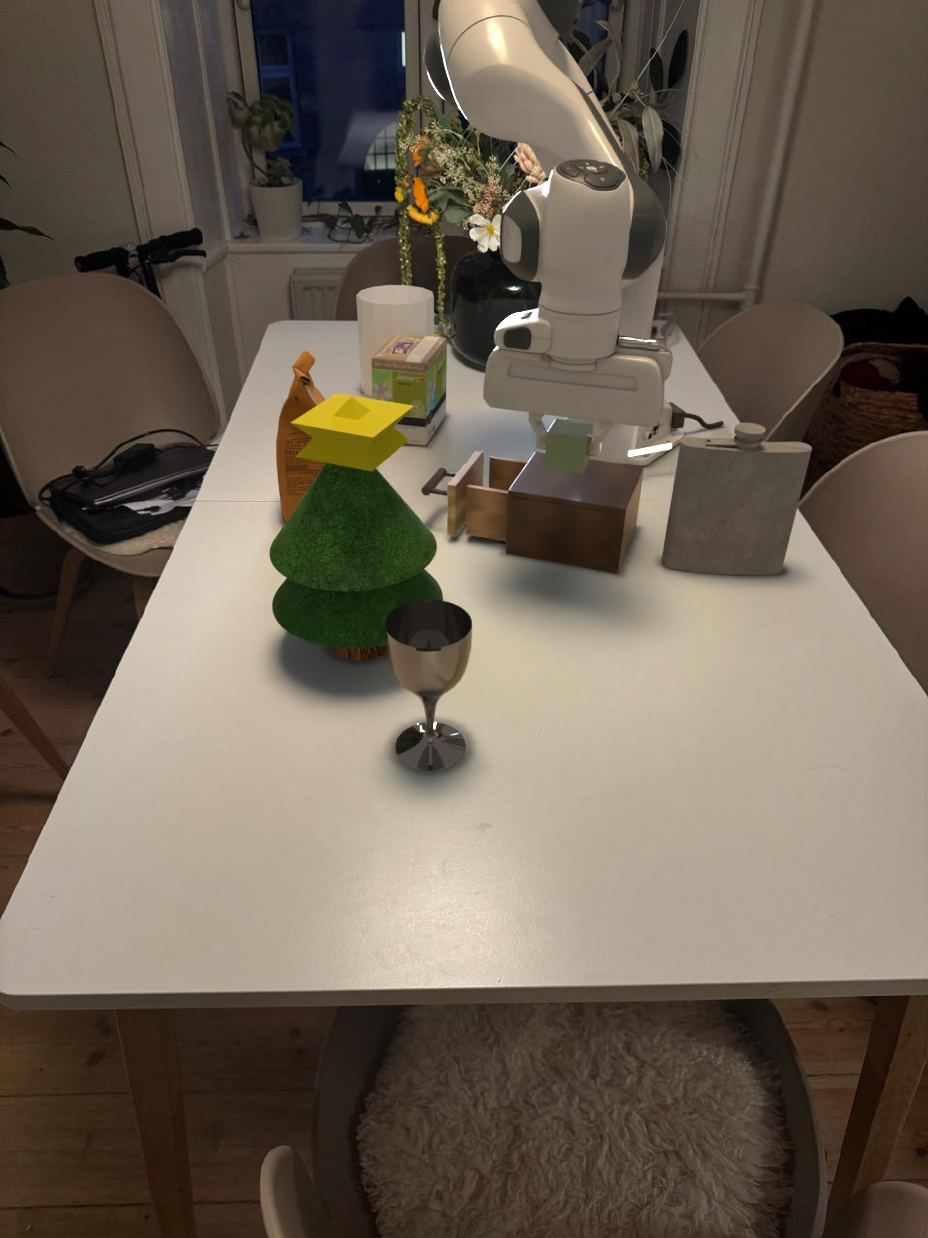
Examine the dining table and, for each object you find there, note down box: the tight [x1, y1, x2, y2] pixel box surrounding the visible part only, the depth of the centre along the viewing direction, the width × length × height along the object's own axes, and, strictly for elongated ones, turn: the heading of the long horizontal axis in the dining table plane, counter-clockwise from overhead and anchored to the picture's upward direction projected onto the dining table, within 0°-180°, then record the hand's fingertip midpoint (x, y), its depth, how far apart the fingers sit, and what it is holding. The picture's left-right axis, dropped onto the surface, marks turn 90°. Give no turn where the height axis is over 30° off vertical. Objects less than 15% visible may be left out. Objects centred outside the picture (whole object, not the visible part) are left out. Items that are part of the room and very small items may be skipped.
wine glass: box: [385, 599, 473, 772], centre depth 84 cm, size 8×8×15 cm
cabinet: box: [505, 450, 645, 575], centre depth 121 cm, size 16×14×10 cm
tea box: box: [371, 334, 448, 446], centre depth 153 cm, size 15×10×15 cm, turn 168°
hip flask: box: [660, 422, 813, 576], centre depth 112 cm, size 16×4×20 cm, turn 85°
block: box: [544, 418, 593, 474], centre depth 102 cm, size 4×4×4 cm
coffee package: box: [275, 350, 327, 522], centre depth 125 cm, size 10×12×22 cm
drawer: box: [420, 450, 529, 542], centre depth 124 cm, size 19×12×8 cm, turn 71°
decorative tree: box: [268, 392, 444, 662], centre depth 94 cm, size 19×19×30 cm
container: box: [355, 284, 435, 398], centre depth 169 cm, size 14×14×18 cm
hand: (568, 450), depth 103 cm, fingers closed on block, 4 cm apart
